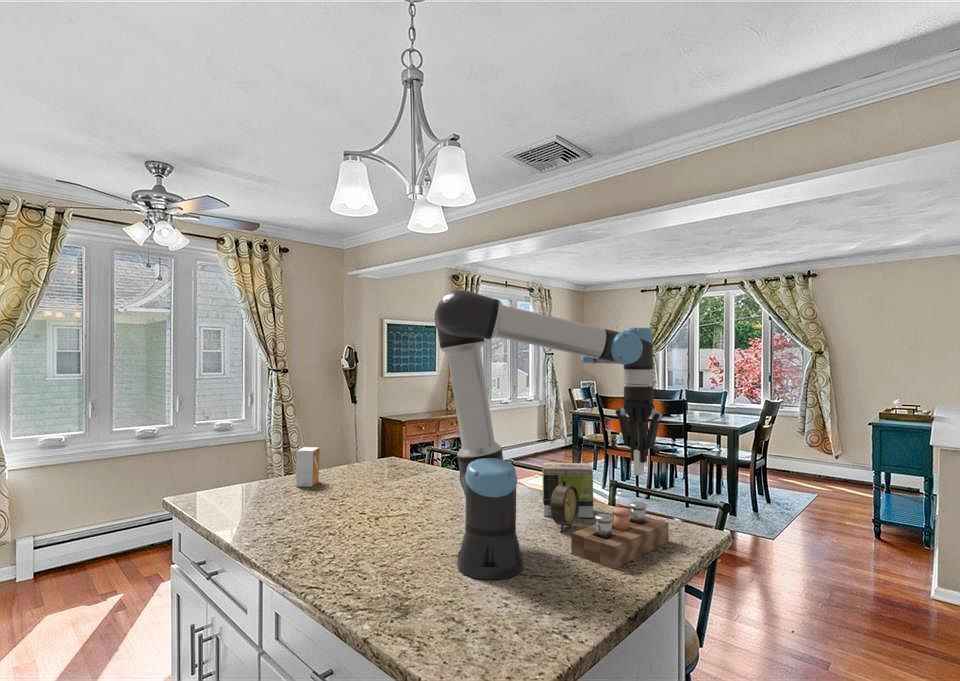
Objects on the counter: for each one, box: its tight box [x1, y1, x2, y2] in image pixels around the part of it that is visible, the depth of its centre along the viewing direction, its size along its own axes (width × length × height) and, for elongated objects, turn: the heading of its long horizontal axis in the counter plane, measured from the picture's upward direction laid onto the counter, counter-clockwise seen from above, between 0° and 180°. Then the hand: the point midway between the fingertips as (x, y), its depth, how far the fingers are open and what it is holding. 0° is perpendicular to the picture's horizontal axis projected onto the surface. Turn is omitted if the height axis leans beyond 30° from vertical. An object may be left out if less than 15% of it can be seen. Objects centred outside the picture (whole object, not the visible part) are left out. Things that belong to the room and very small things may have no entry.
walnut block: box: [570, 515, 669, 570], centre depth 130 cm, size 26×12×5 cm, turn 133°
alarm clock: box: [550, 470, 579, 534], centre depth 144 cm, size 11×5×16 cm, turn 147°
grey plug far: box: [628, 501, 648, 525], centre depth 135 cm, size 4×4×5 cm
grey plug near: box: [594, 513, 614, 540], centre depth 124 cm, size 4×4×5 cm
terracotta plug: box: [612, 507, 631, 532], centre depth 130 cm, size 4×4×5 cm
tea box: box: [542, 462, 594, 519], centre depth 158 cm, size 15×10×15 cm
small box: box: [295, 446, 321, 488], centre depth 189 cm, size 8×6×13 cm
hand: (639, 474), depth 136 cm, fingers closed
